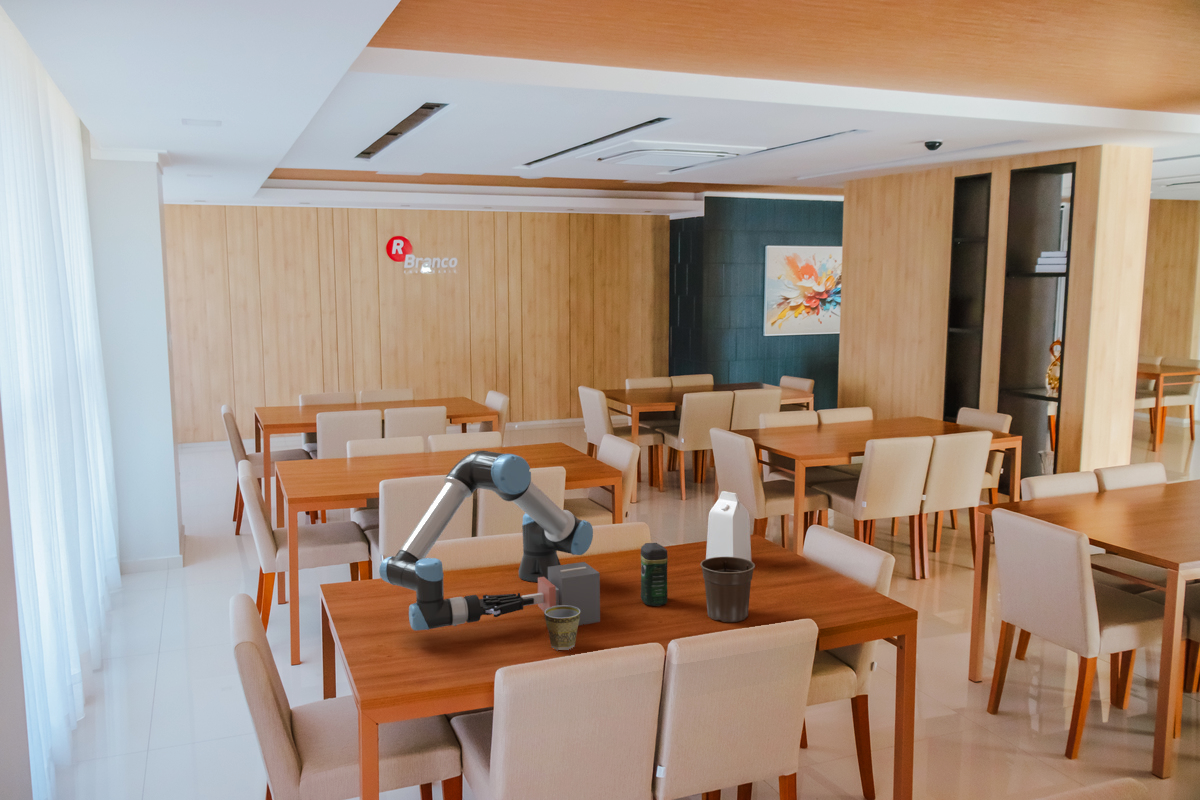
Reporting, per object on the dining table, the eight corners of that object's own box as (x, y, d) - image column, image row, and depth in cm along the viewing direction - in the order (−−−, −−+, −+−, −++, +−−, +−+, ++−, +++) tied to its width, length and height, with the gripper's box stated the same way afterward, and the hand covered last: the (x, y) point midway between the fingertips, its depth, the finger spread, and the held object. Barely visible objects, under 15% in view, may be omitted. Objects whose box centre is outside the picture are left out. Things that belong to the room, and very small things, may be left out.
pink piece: (549, 617, 247) (549, 587, 246) (538, 606, 256) (537, 577, 255) (593, 610, 253) (593, 580, 252) (581, 599, 262) (580, 571, 261)
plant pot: (690, 610, 261) (690, 559, 259) (736, 603, 267) (736, 553, 265) (717, 629, 246) (717, 575, 244) (764, 620, 252) (765, 568, 250)
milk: (751, 562, 309) (752, 492, 306) (733, 569, 301) (733, 497, 298) (724, 555, 317) (724, 487, 314) (705, 562, 309) (706, 492, 306)
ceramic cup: (581, 652, 231) (581, 617, 230) (545, 654, 230) (544, 618, 229) (579, 634, 244) (578, 600, 242) (544, 635, 243) (543, 602, 242)
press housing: (562, 628, 248) (561, 577, 246) (548, 614, 259) (547, 565, 257) (600, 621, 253) (599, 572, 251) (584, 608, 264) (584, 560, 262)
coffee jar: (670, 605, 265) (670, 548, 263) (646, 608, 264) (645, 550, 262) (661, 595, 275) (661, 539, 273) (638, 597, 273) (637, 541, 271)
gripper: (459, 614, 248) (535, 602, 258) (470, 630, 236) (550, 617, 246) (458, 590, 247) (535, 579, 257) (470, 604, 236) (550, 592, 245)
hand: (542, 597), depth 251 cm, fingers closed
